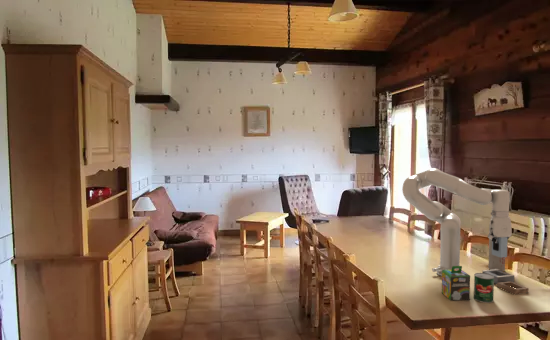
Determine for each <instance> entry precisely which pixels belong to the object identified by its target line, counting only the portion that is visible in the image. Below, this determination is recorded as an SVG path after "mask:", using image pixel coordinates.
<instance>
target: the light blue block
mask: <svg viewBox="0 0 550 340" xmlns="http://www.w3.org/2000/svg"><path fill="white" fill-rule="evenodd" d="M495 239H496V238H495ZM498 243H499V251H496V250H493V242H492V255H495V256H498V257H501V258H502V257H505V258H508V240H507V237H499V239H498Z"/></svg>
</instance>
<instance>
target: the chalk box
mask: <svg viewBox="0 0 550 340" xmlns="http://www.w3.org/2000/svg"><path fill="white" fill-rule="evenodd" d="M455 268H459V269H455ZM462 269H463V266H462V265H460V266H452V269H451V270H442V276H441V288H442V289H441V293H442V295H444V297H446V298H447V299H449V300H450V301H470V296H471V295H470V293H471V275H470V274H469V273H467V272H465V270H462Z"/></svg>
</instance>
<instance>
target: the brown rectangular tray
mask: <svg viewBox="0 0 550 340" xmlns="http://www.w3.org/2000/svg"><path fill="white" fill-rule="evenodd" d="M510 286H511V287H510ZM496 287H497V288H498V287H499V288H498V289H500V288H502V289H501V290H503V289H504V290H503V291H505V290H506V291H505V292H507V291H508V292H507V293H510V292H511V293H510V294H512V293H513V294H512V295H514V294H515V295H520V294H519V293H524V294H527V293H526V292H528V293H529V287H526V286H525V285H524V286H523V285H521V284H519V283H516V282H515V281H514V282H512V281H509V282H500V283H497V285H496ZM512 287H514V288H516V289H514V288H512Z"/></svg>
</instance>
